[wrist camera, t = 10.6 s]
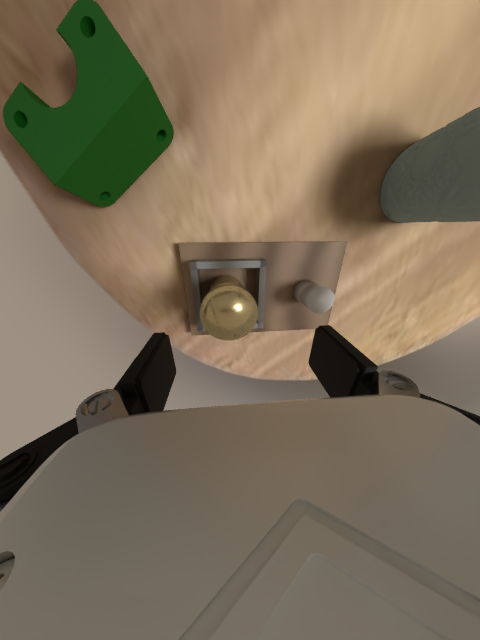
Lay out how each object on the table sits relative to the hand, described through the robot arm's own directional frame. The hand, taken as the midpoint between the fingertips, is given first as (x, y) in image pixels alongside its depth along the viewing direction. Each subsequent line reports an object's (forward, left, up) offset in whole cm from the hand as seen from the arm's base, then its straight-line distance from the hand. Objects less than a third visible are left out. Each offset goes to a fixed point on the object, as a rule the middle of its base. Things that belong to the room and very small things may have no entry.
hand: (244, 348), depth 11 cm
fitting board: (-5, 0, -16) cm, 17 cm away
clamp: (+12, -16, -17) cm, 26 cm away
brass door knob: (+1, 0, -15) cm, 15 cm away
